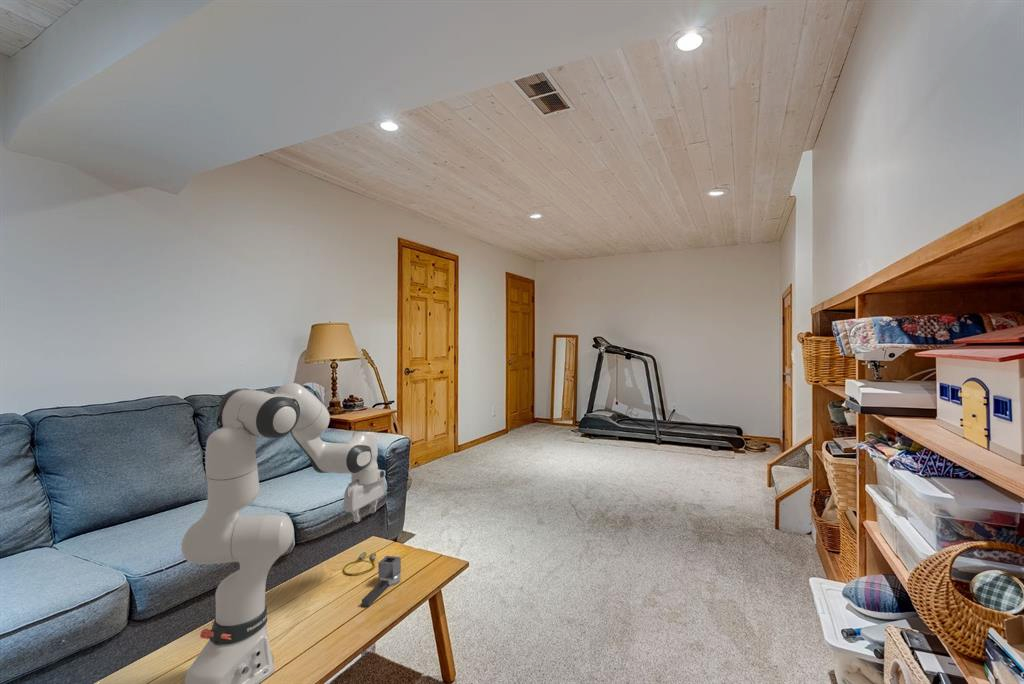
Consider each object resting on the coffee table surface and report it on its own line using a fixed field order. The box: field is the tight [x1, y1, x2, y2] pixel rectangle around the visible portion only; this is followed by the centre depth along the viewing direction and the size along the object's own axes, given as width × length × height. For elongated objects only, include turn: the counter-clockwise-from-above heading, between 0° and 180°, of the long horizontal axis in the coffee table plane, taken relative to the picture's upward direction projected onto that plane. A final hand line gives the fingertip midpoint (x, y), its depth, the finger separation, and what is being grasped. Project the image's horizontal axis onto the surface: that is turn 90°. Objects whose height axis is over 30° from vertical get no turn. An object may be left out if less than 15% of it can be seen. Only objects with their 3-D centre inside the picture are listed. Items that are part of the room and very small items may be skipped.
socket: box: [377, 555, 402, 579], centre depth 162 cm, size 6×6×5 cm
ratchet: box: [361, 572, 401, 608], centre depth 156 cm, size 20×7×6 cm, turn 166°
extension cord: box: [342, 551, 377, 577], centre depth 174 cm, size 12×16×2 cm
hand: (365, 516), depth 160 cm, fingers open, 8 cm apart
